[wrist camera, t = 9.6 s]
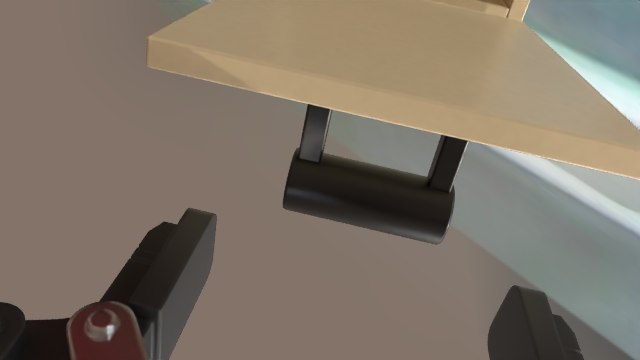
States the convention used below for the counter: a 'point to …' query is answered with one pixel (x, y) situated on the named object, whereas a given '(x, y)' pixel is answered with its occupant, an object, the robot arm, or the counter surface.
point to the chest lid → (399, 96)
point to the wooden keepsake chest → (492, 7)
